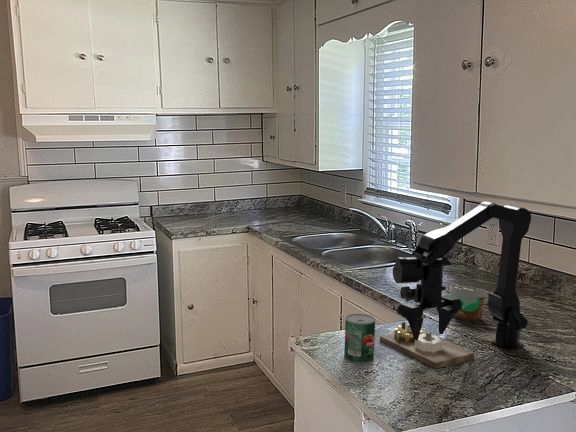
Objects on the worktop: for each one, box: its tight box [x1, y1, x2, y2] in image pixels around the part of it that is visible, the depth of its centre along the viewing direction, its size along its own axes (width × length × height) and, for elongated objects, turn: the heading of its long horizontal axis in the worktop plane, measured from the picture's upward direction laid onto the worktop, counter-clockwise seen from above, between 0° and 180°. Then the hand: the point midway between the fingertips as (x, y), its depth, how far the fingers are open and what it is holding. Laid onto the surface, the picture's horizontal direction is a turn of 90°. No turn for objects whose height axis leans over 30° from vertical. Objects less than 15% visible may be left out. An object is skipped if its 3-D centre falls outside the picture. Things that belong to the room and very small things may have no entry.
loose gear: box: [414, 334, 444, 353], centre depth 162 cm, size 7×7×2 cm
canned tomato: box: [343, 313, 376, 365], centre depth 157 cm, size 8×8×11 cm
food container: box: [449, 282, 488, 322], centre depth 191 cm, size 12×6×10 cm, turn 47°
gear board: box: [379, 329, 475, 370], centre depth 164 cm, size 14×22×6 cm, turn 31°
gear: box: [393, 321, 423, 342], centre depth 168 cm, size 8×8×4 cm
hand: (428, 336), depth 161 cm, fingers open, 9 cm apart
